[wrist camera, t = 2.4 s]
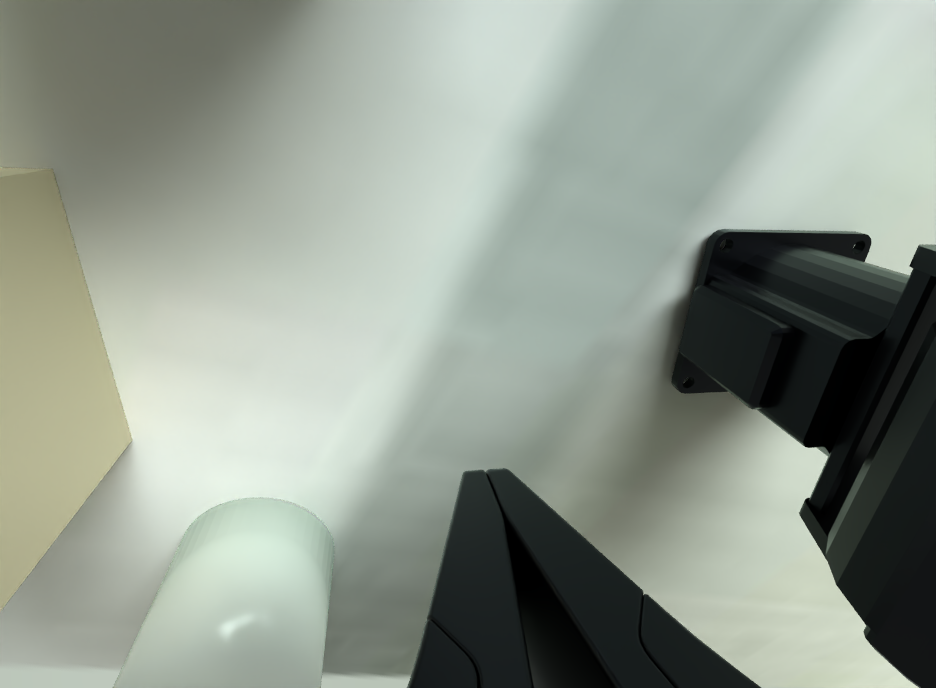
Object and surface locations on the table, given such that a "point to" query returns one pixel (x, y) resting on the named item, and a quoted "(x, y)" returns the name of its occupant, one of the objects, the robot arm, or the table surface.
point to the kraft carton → (47, 378)
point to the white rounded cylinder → (239, 603)
